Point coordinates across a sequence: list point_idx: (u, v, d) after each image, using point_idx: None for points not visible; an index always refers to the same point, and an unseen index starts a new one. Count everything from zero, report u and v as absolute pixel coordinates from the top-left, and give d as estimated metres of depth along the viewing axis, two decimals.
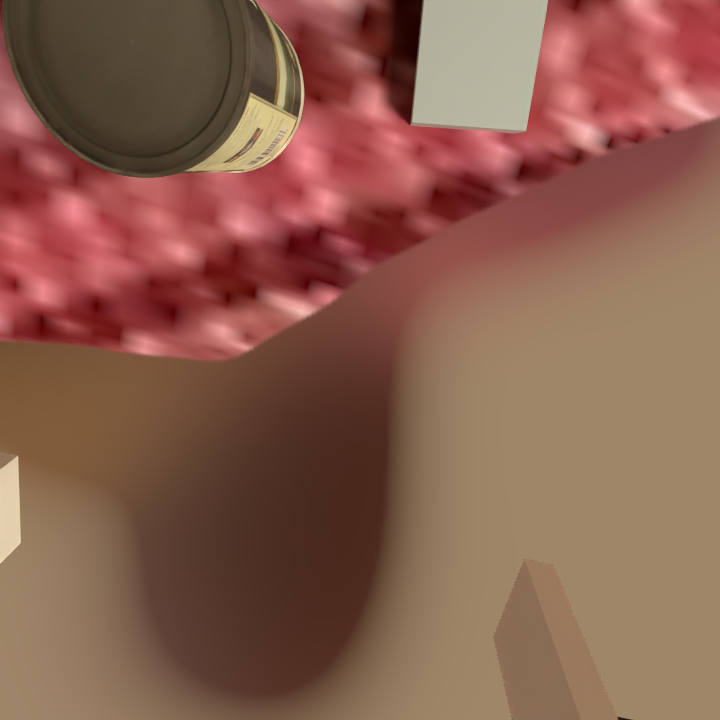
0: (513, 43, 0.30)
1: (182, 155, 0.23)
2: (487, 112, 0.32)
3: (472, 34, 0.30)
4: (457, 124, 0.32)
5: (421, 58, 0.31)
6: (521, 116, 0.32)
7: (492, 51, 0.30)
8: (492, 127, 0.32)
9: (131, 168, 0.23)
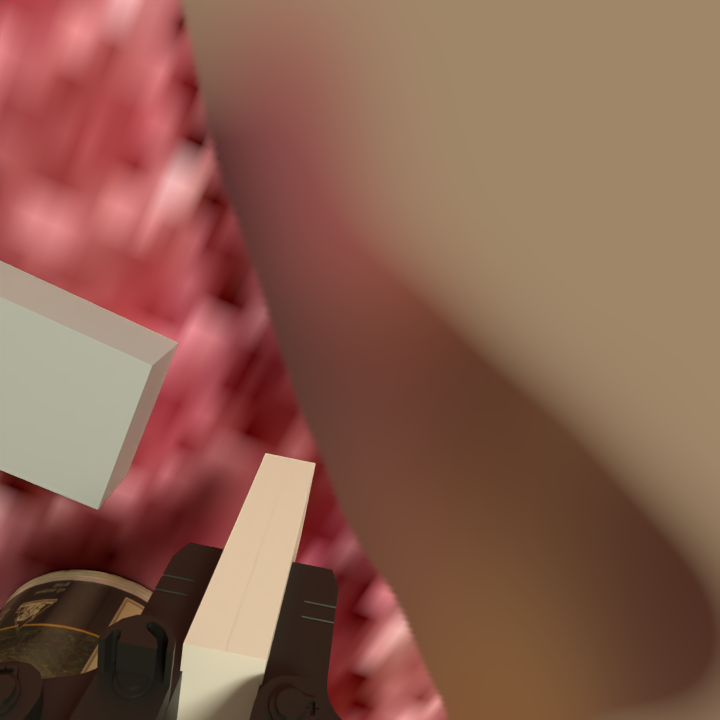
0: (17, 347, 0.19)
1: None
2: (109, 411, 0.19)
3: None
4: (115, 456, 0.20)
5: (14, 471, 0.20)
6: (128, 366, 0.19)
7: (24, 379, 0.19)
8: (134, 410, 0.19)
9: None
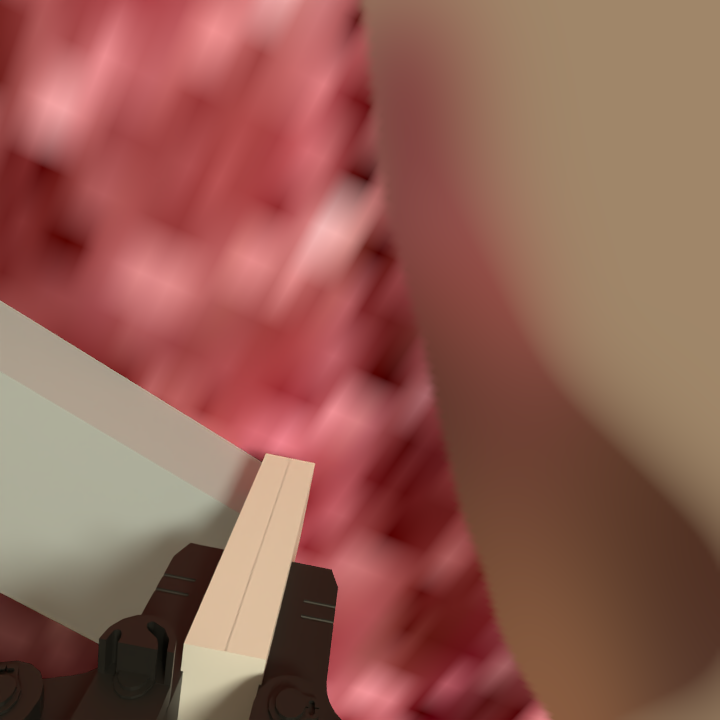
0: (79, 473, 0.14)
1: None
2: None
3: (36, 526, 0.15)
4: None
5: (41, 609, 0.16)
6: (218, 515, 0.15)
7: (79, 510, 0.15)
8: None
9: None
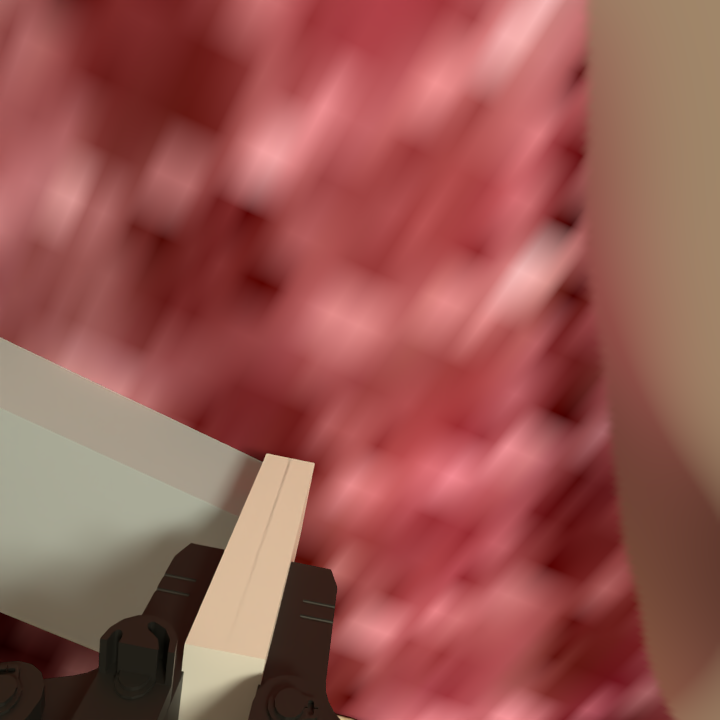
0: (77, 494, 0.14)
1: None
2: None
3: (44, 550, 0.15)
4: None
5: (61, 632, 0.16)
6: (218, 521, 0.15)
7: (83, 530, 0.15)
8: None
9: None
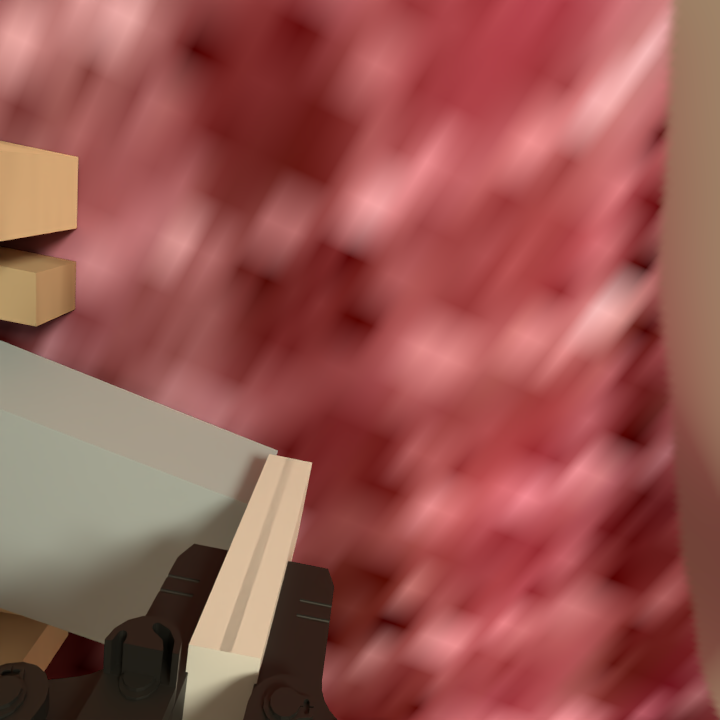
0: (81, 490, 0.14)
1: None
2: None
3: (54, 549, 0.15)
4: None
5: (80, 631, 0.16)
6: (224, 508, 0.14)
7: (91, 527, 0.15)
8: None
9: None
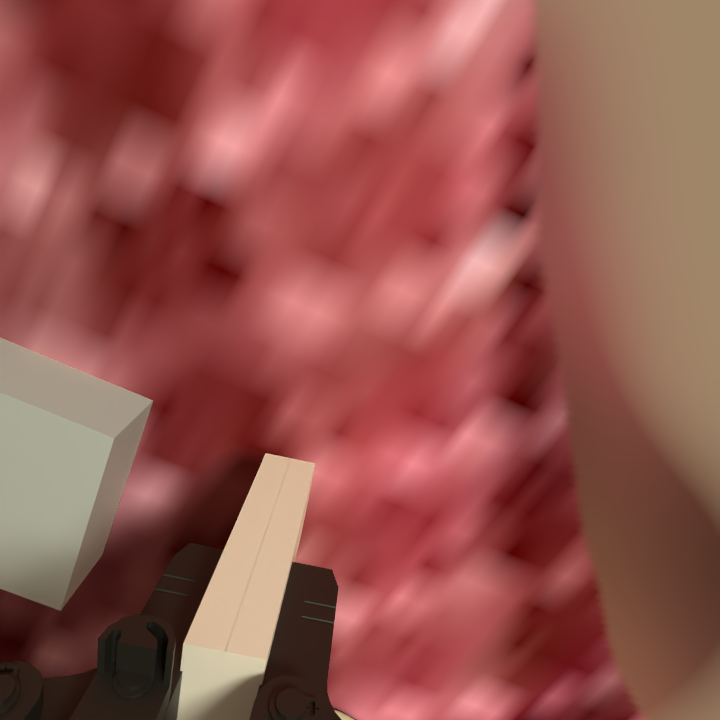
0: None
1: None
2: (65, 495, 0.15)
3: None
4: (77, 547, 0.16)
5: None
6: (84, 439, 0.15)
7: None
8: (95, 492, 0.15)
9: None
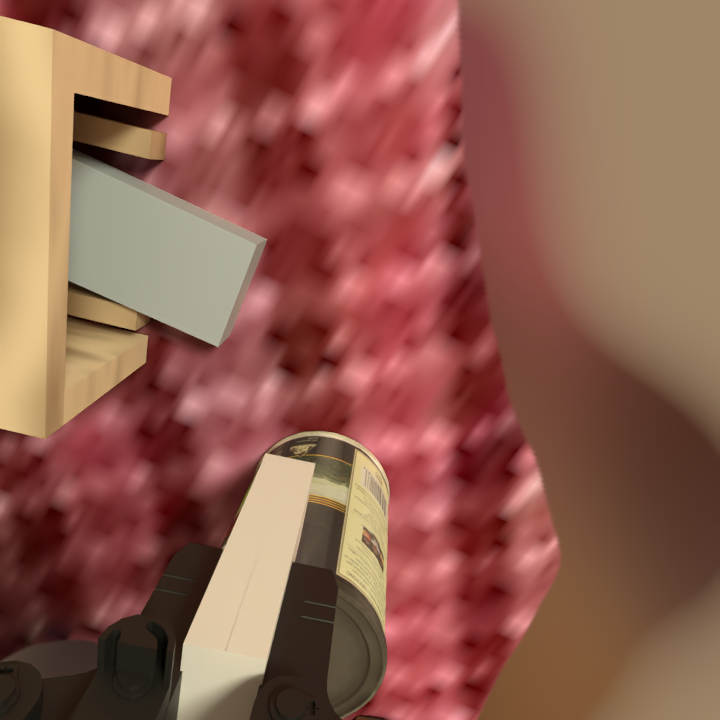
0: (175, 235, 0.30)
1: (374, 647, 0.25)
2: (229, 277, 0.31)
3: (159, 270, 0.31)
4: (231, 307, 0.32)
5: (166, 321, 0.32)
6: (242, 245, 0.30)
7: (177, 256, 0.31)
8: (244, 275, 0.31)
9: (374, 683, 0.26)
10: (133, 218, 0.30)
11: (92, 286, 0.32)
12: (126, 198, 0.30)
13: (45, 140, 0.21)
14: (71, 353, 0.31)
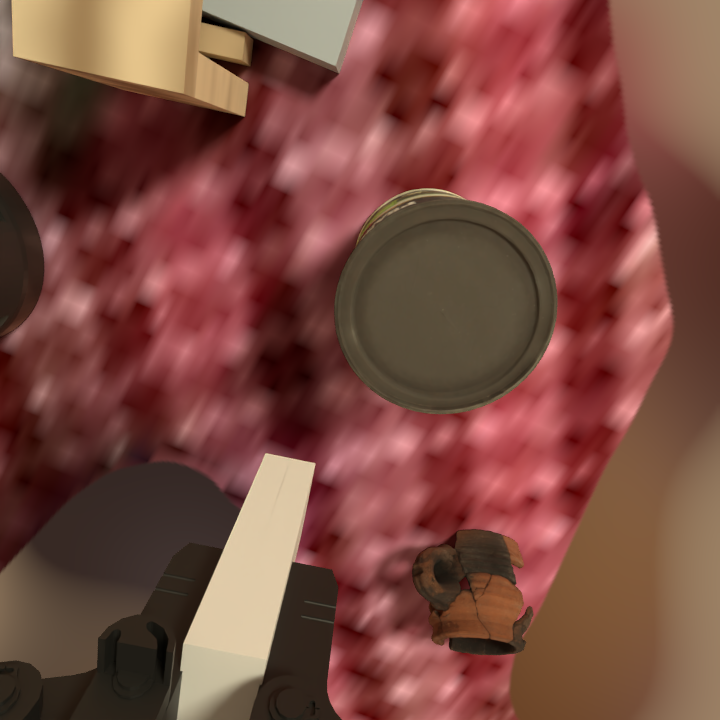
0: None
1: (545, 294, 0.24)
2: None
3: None
4: (350, 14, 0.30)
5: (281, 39, 0.31)
6: None
7: None
8: None
9: (541, 344, 0.24)
10: None
11: None
12: None
13: None
14: None
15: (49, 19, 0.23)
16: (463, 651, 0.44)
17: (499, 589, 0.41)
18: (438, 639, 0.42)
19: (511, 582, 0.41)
